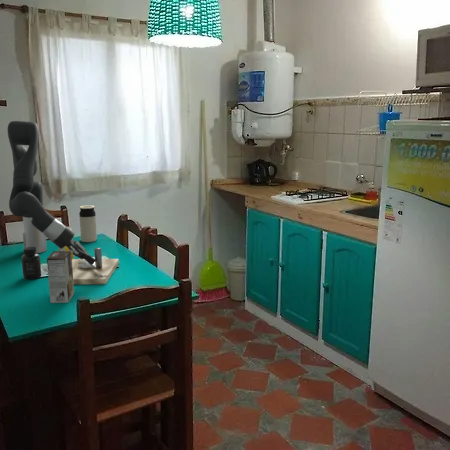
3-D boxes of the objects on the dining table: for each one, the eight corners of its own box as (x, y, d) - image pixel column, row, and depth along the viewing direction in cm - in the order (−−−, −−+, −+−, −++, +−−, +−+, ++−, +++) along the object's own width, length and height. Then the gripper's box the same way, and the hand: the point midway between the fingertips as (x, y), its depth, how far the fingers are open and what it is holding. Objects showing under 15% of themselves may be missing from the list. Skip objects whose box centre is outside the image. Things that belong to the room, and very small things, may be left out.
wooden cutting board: (52, 284, 181) (52, 278, 181) (72, 263, 208) (72, 258, 207) (106, 284, 182) (106, 278, 181) (119, 263, 208) (119, 258, 208)
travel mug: (100, 239, 249) (98, 205, 245) (89, 243, 242) (87, 208, 238) (88, 238, 252) (86, 204, 248) (77, 241, 245) (75, 207, 241)
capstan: (75, 264, 199) (74, 240, 196) (97, 261, 203) (95, 237, 201) (90, 278, 181) (88, 252, 179) (113, 274, 186) (111, 248, 184)
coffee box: (56, 293, 172) (53, 250, 168) (74, 293, 172) (71, 250, 169) (49, 303, 163) (45, 258, 159) (68, 302, 163) (65, 257, 160)
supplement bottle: (45, 275, 192) (43, 246, 189) (33, 280, 185) (30, 251, 183) (31, 273, 194) (28, 245, 191) (19, 278, 187) (16, 249, 185)
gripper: (64, 229, 172) (100, 260, 178) (66, 222, 185) (100, 251, 190) (50, 244, 172) (86, 274, 178) (52, 236, 184) (86, 265, 190)
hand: (93, 262), depth 184 cm, fingers closed
